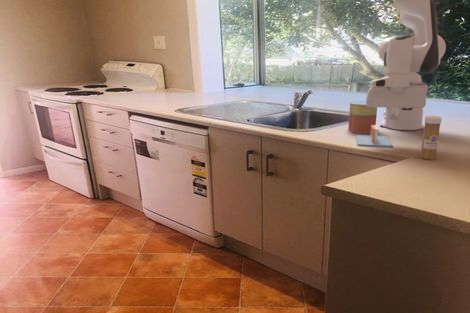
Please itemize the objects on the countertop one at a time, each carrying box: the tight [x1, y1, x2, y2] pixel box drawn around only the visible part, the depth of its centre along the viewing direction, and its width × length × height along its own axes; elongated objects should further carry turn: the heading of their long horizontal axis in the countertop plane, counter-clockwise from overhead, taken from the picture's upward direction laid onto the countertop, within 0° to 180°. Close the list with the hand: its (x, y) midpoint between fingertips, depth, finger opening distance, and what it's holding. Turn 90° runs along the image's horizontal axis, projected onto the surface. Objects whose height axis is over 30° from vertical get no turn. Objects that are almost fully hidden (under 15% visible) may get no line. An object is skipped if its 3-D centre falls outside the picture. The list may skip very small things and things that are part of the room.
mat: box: [355, 134, 394, 148], centre depth 141 cm, size 16×12×1 cm
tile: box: [369, 124, 379, 143], centre depth 140 cm, size 8×2×5 cm, turn 165°
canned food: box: [347, 100, 378, 134], centre depth 159 cm, size 11×11×12 cm
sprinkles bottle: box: [419, 115, 442, 160], centre depth 117 cm, size 5×5×14 cm
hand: (393, 119), depth 137 cm, fingers closed
